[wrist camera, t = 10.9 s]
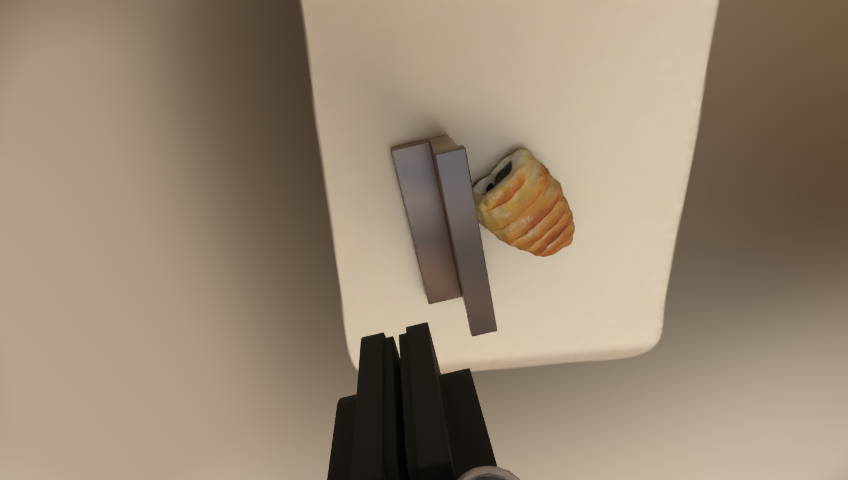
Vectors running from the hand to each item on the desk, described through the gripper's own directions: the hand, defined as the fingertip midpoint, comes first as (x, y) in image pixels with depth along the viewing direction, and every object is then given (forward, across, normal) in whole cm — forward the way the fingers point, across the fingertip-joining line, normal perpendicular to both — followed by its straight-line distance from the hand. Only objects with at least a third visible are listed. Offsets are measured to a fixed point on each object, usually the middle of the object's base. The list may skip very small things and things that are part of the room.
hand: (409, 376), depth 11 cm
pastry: (+25, -10, +6) cm, 28 cm away
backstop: (+25, -3, +6) cm, 26 cm away
